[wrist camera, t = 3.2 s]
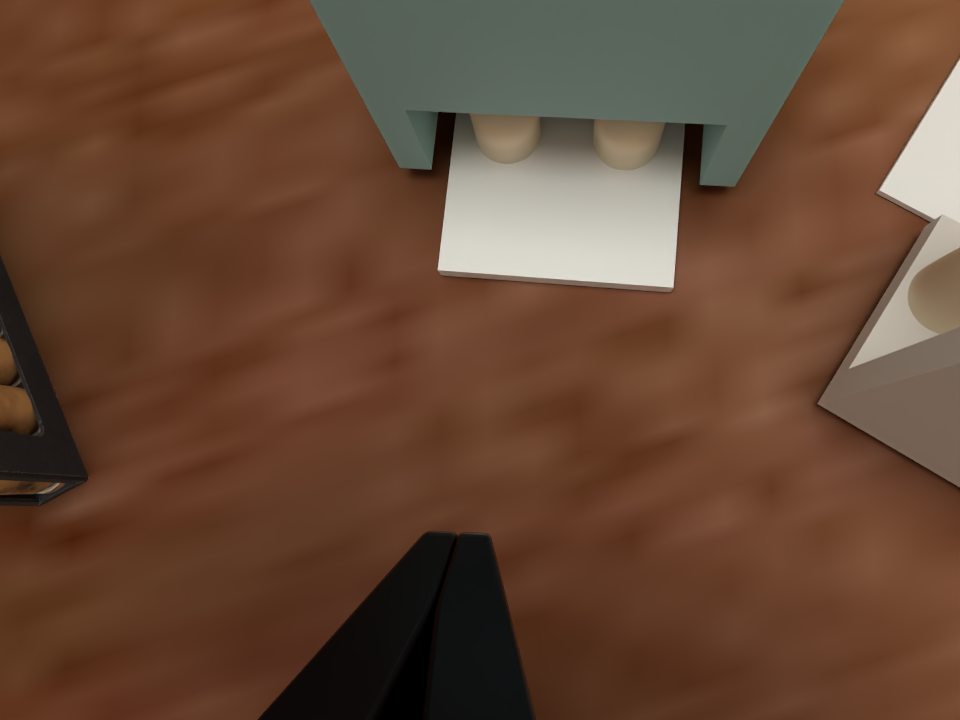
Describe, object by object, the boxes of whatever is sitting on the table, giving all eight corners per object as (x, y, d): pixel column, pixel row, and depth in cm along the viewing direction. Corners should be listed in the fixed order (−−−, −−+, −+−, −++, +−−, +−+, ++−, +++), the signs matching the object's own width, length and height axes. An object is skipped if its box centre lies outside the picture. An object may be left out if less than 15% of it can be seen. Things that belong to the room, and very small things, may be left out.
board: (670, 292, 22) (687, 263, 19) (441, 275, 23) (422, 245, 20) (696, -71, 24) (715, -150, 21) (481, -74, 25) (469, -150, 22)
